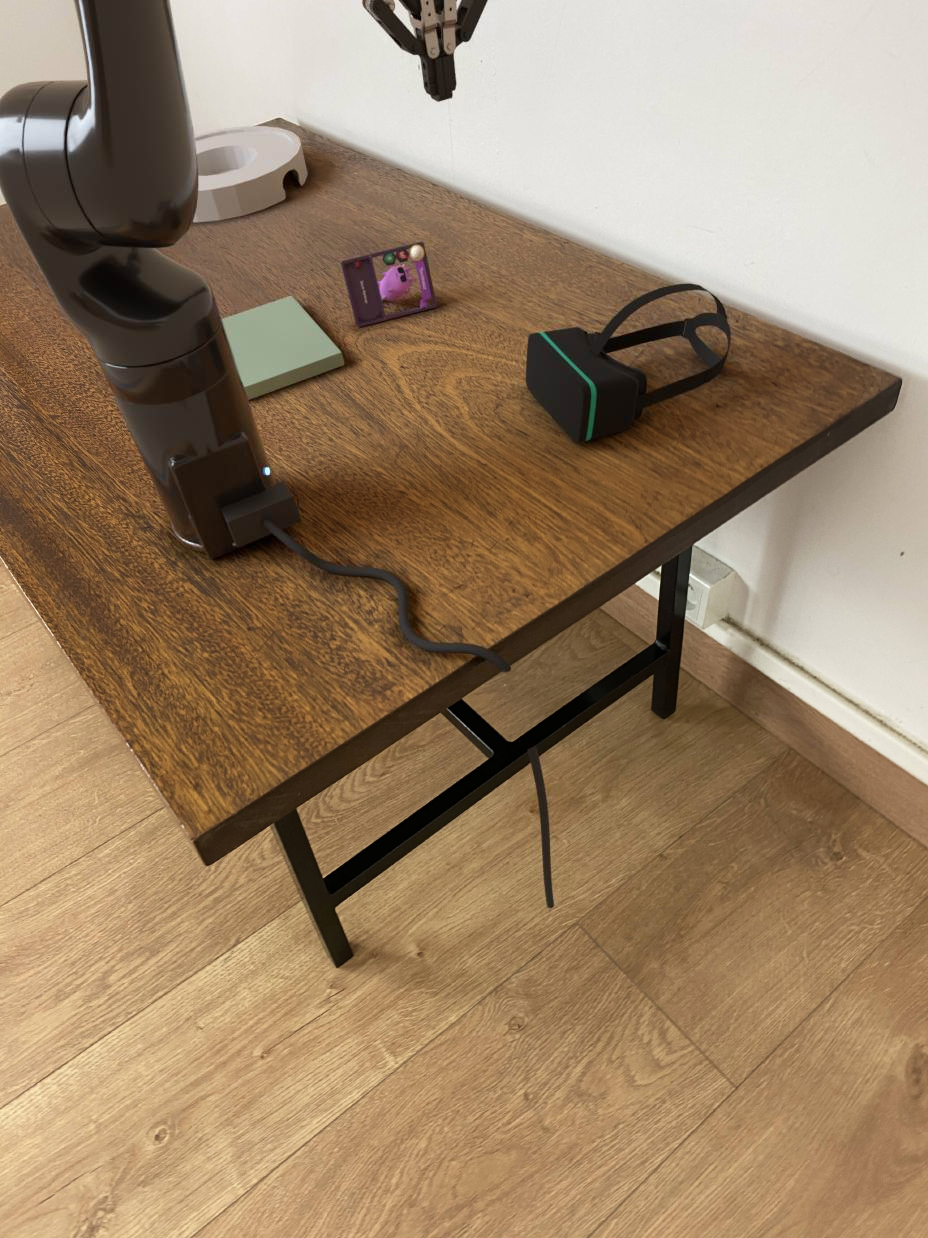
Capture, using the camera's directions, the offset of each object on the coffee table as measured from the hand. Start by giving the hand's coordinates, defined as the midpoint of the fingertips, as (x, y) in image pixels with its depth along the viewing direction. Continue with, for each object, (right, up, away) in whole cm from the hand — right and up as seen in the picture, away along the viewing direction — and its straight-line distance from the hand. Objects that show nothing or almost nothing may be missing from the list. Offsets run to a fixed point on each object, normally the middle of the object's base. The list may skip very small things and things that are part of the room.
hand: (441, 97), depth 87 cm
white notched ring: (-32, +11, +41) cm, 53 cm away
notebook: (-18, -22, +8) cm, 30 cm away
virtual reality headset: (+18, -30, -4) cm, 35 cm away
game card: (-6, -17, +12) cm, 21 cm away
